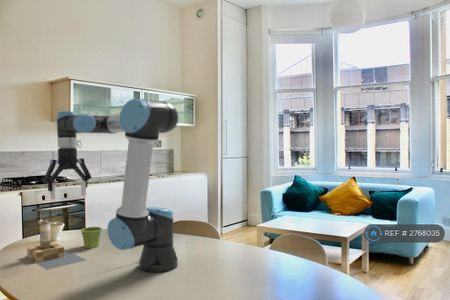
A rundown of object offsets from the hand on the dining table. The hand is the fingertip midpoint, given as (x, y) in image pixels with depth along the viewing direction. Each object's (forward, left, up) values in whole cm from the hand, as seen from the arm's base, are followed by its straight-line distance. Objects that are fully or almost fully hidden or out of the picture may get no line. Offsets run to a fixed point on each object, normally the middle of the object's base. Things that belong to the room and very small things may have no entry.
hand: (68, 197), depth 164 cm
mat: (0, +6, -25) cm, 26 cm away
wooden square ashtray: (+5, +8, -25) cm, 27 cm away
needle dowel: (+5, +8, -25) cm, 27 cm away
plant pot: (+6, -13, -26) cm, 29 cm away
